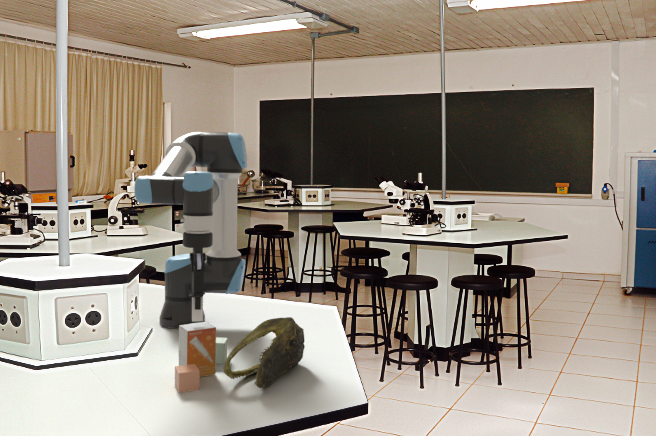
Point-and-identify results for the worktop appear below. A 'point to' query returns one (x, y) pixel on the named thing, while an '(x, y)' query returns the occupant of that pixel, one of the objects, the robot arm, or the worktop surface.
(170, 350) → the worktop surface
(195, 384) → the terracotta cube
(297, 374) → the worktop surface
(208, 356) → the small box
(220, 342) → the sage block
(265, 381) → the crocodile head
